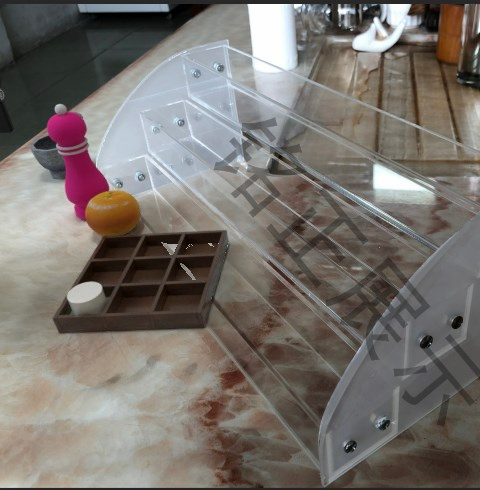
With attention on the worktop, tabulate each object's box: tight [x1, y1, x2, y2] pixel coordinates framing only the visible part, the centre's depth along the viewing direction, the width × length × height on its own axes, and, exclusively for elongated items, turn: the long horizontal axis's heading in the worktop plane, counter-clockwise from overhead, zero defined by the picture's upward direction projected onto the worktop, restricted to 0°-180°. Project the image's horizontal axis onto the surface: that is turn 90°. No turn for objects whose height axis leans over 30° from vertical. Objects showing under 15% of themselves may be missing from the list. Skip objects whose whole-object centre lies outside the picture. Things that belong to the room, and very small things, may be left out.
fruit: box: [85, 189, 141, 237], centre depth 98 cm, size 8×8×8 cm
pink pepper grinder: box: [46, 103, 110, 221], centre depth 101 cm, size 7×7×20 cm
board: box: [52, 229, 230, 334], centre depth 86 cm, size 20×20×3 cm
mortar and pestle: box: [29, 111, 84, 180], centre depth 118 cm, size 11×9×12 cm
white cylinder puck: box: [66, 282, 107, 315], centre depth 81 cm, size 5×5×3 cm
